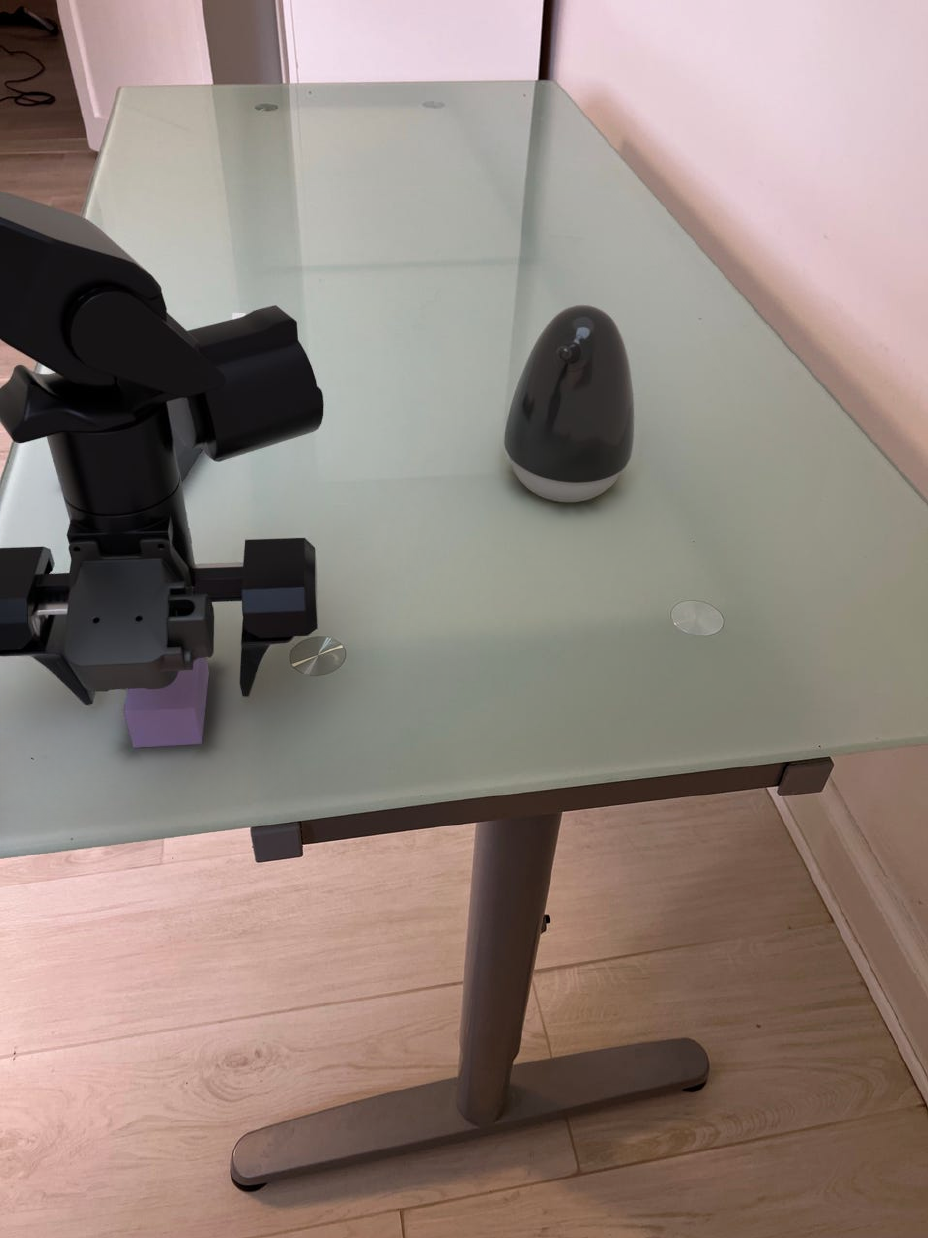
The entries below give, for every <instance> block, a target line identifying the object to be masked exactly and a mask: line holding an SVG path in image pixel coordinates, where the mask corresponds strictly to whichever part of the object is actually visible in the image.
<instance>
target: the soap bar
mask: <svg viewBox="0 0 928 1238" xmlns="http://www.w3.org/2000/svg"><path fill="white" fill-rule="evenodd" d="M209 677H210V671H209V667H208V660H207V658H198V659H196V660H195V661H194V663H193V670H183V671H178V675H177V677H176V679H175V680H174V681H173V683H171V684H170V685H169V686H167V687H164V688H161V689H145V688H137V689H127V692H126V697H125V701H124V702H125V703H124V707H123V714H124V718H125V723H126V726H127V730H128V734H129V738H130V740H131V744H132V748H134V749H138V748H139V749H140V748H155V747H172V746H175V747H176V746H189V745H191V746H192V745H201V744H202V743H203V736H204V726H205V725H204V724H205V715H206V706H207V697H208V688H209V687H208V685H209Z"/></svg>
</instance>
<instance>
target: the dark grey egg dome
mask: <svg viewBox="0 0 928 1238" xmlns="http://www.w3.org/2000/svg"><path fill="white" fill-rule="evenodd" d="M630 365H631V364H630V359H629V355H628V352H627V347H626V345H625V341H624V338H623V336H622V334H621V331H620V329H619V327H618V326H617V324H616V322H615V320H614V319H613V318H612V316H611V315H610V314H608V313H607V312H606V311H604V310H603V309H601V308H599V307H597V306H594V305H589V304H578V305H572V306H569V307H567V308H565V309H563V310H561V311H560V312H559V313H557V314H556V315H554V317H553V318H552V319H551V320H550V321H549V322H548V323H547V324H546V326H545V327H544V329H543V330H542V332H541V333H540V334H539V336H538V338H537V339H536V341H535V343H534V345H533V347H532V349H531V351H530V353H529V355H528V357H527V359H526V361H525V364H524V367H523V369H522V372H521V374H520V376H519V380H518V382H517V385H516V388H515V390H514V394H513V397H512V400H511V404H510V408H509V411H508V415H507V418H506V423H505V429H504V437H503V438H504V439H503V443H504V449H505V451H506V453H507V455H508V459H509V463H510V465H511V468H512V470H513V472H514V474H515V476H516V477H517V479H518V481H520V482H521V483H522V485H523V486H524V487H525V488H527V489H528V490H529V491H531V492H532V493H534V494H536V495H537V496H539V497H542V498H544V499H547V500H549V501H554V502H558V503H579V502H584V501H588V500H591V499H594V498H596V497H598V496H600V495H602V494H604V493H605V492H606V491H607V490H608V489H610V487H612V485H613V484H615V482H616V481H617V480H618V479H619V477H620V475H621V473H622V472H623V470H624V469H625V468H626V467H627V466H628V464H629V462H630V460H631V458H632V454H633V448H634V441H635V401H634V400H635V398H634V389H633V388H634V387H633V379H632V371H631V366H630Z"/></svg>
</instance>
